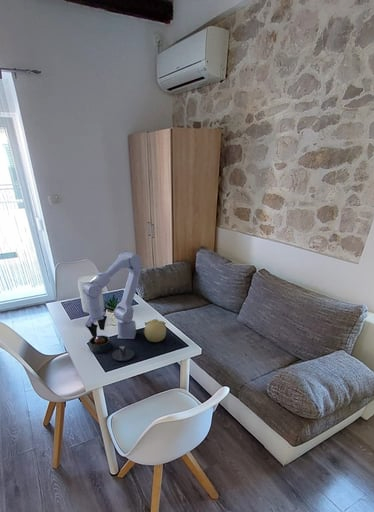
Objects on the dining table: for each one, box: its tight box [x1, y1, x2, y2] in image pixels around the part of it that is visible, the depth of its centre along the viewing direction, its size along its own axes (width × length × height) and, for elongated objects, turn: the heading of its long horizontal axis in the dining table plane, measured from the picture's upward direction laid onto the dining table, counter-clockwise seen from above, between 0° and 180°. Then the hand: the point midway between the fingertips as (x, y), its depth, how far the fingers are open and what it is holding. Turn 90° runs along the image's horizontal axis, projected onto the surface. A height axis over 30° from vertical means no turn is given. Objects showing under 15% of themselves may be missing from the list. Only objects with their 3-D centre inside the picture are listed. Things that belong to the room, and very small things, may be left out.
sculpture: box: [144, 318, 167, 343], centre depth 165 cm, size 12×12×11 cm
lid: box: [111, 345, 135, 362], centre depth 151 cm, size 11×11×5 cm
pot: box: [88, 334, 112, 354], centre depth 158 cm, size 10×10×5 cm
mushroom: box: [94, 337, 105, 345], centre depth 157 cm, size 5×5×6 cm
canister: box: [76, 274, 106, 314], centre depth 194 cm, size 14×14×20 cm
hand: (98, 333), depth 157 cm, fingers open, 7 cm apart
